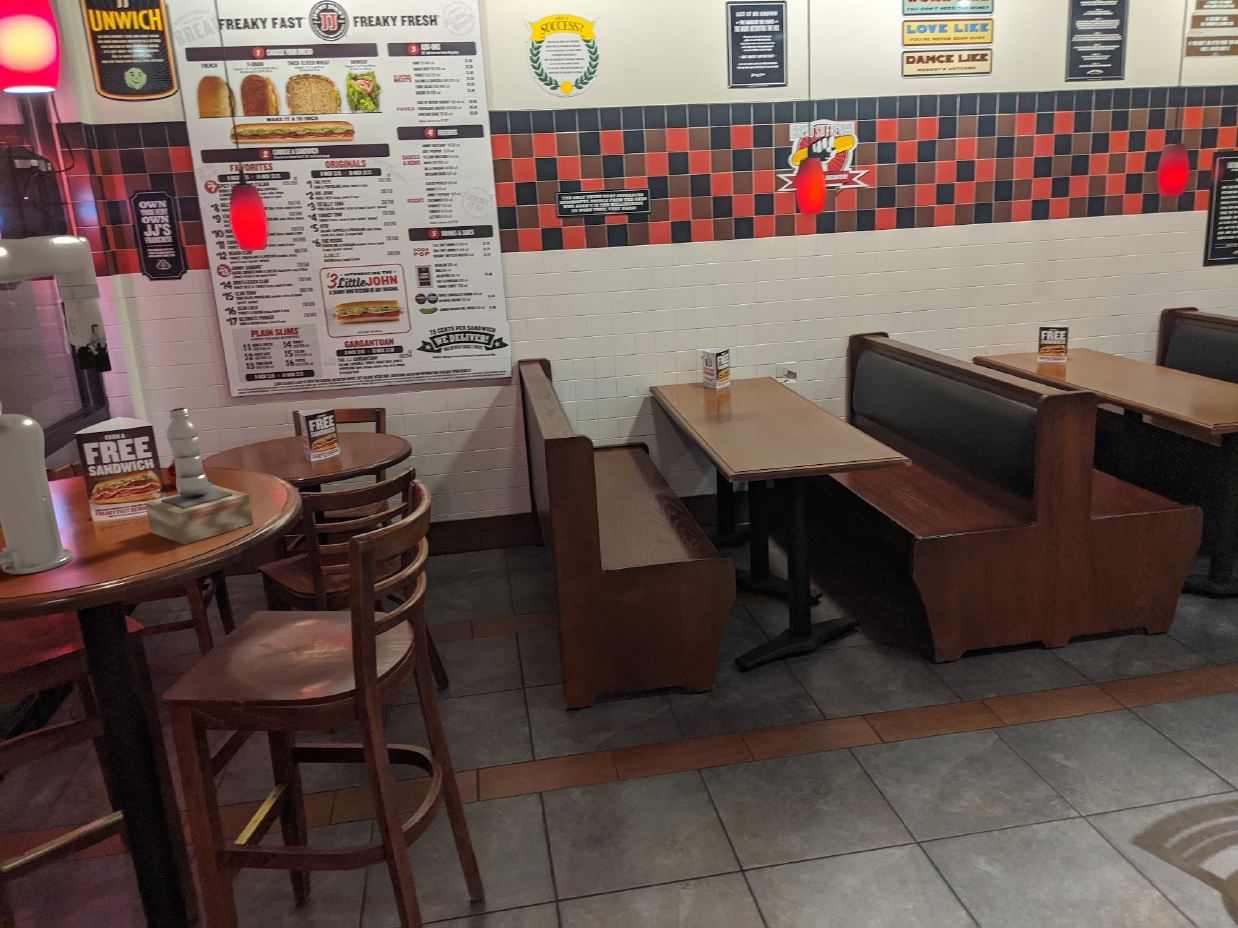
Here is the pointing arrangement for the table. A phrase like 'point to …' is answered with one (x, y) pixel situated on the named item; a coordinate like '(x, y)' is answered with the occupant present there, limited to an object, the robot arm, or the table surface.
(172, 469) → the pomegranate
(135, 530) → the table surface
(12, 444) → the robot arm
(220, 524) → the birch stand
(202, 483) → the plastic bottle
